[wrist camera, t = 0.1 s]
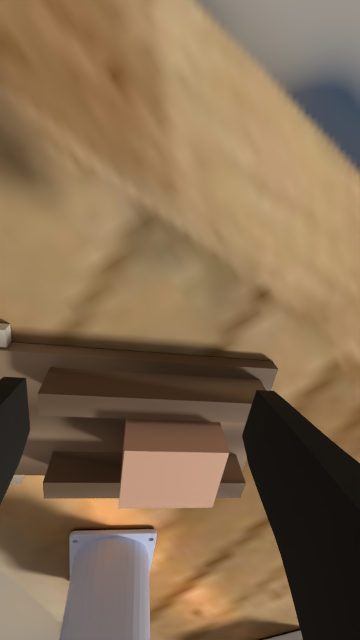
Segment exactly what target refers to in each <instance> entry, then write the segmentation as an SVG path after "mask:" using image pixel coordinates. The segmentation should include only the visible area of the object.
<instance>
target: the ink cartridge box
mask: <svg viewBox="0 0 360 640" xmlns="http://www.w3.org/2000/svg"><path fill="white" fill-rule="evenodd" d="M264 640H303V638H302V634H301V630H299V631H295V632H291V633H288V634H284V635H280V636H276V637H272V638H268V639H264Z"/></svg>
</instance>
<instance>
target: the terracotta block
mask: <svg viewBox="0 0 360 640" xmlns="http://www.w3.org/2000/svg"><path fill="white" fill-rule="evenodd" d="M228 455H229V451H228V447H227V444H226V441H225V437H224V434H223V431H222V427H221V424H220V422H201V421H173V420H146V419H126V424H125V434H124V444H123V456H122V469H121V482H120V496H119V508H211V507H213V504H214V501H215V497H216V494H217V491H218V488H219V484H220V481H221V478H222V475H223V472H224V468H225V465H226V462H227V459H228Z"/></svg>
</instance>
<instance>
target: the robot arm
mask: <svg viewBox="0 0 360 640" xmlns="http://www.w3.org/2000/svg"><path fill="white" fill-rule="evenodd" d="M29 432H30V419H29V407H28V395H27V383H26V378H19V377H3V378H1V379H0V504H1V502H2V500H3V498H4V495H5V493H6V491H7V489H8V487H9V485H10V482H11V480H12V478H13V476H14V474H15V472H16V469H17V467H18V465H19V463H20V460H21V457H22V454H23V451H24V448H25V445H26V442H27V439H28V435H29ZM242 438H243V442H244V447H245V452H246V456H247V460H248V464H249V467H250V470H251V473H252V476H253V479H254V481H255V484H256V487H257V490H258V492H259V495H260V498H261V501H262V503H263V506H264V509H265V511H266V514H267V517H268V520H269V522H270V525H271V528H272V530H273V533H274V536H275V539H276V542H277V545H278V548H279V551H280V554H281V557H282V561H283V564H284V568H285V572H286V576H287V579H288V583H289V587H290V590H291V594H292V598H293V602H294V606H295V610H296V614H297V618H298V622H299V626H300V630H301V634H302V638H303V640H360V463H359V462H357V461H356V460H355V459H354V458H352V457H351V456H350V455H349V454H347V453H346V452H345V451H343V450H342V449H341V448H340V447H339V446H337V445H336V444H335V443H334V442H333V441H331V440H330V439H329V438H328V437H327V436H325V435H324V434H323V433H322V432H321V431H320V430H318V429H317V428H316V427H315V426H314V425H313V424H312V423H310V422H309V421H308V420H307V419H306V418H305V417H304V416H302V415H301V414H300V413H299V412H298V411H297V410H296V409H295V408H293V407H292V406H291V405H290V404H289V403H288V402H287V401H285V400H284V399H283V398H282V397H281V396H279V395H278V394H277V393H276V392H274V391H266V390H256V393H255V396H254V399H253V402H252V406H251V409H250V412H249V415H248V418H247V421H246V424H245V427H244V431H243V434H242ZM156 538H157V531H156V530H154V529H134V530H86V531H73V532H71V533H70V537H69V550H70V583H69V589H68V594H67V600H66V606H65V611H64V617H63V622H62V628H61V633H60V639H59V640H150V600H149V573H150V568H151V563H152V558H153V553H154V548H155V543H156Z"/></svg>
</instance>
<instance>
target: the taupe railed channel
mask: <svg viewBox="0 0 360 640" xmlns="http://www.w3.org/2000/svg"><path fill="white" fill-rule="evenodd" d="M11 341H12V338H11V328H10V324H5V323H0V379H1V378H3V377H19V378H26V383H27V395H28V407H29V419H30V432H29V435H28V439H27V442H26V445H25V448H24V451H23V454H22V457H21V460H20V463H19V465H18V467H17V469H16V472H15V474H14V476H13V478H12V480H11V482H10V484H22V481H23V479H24V476H25V475H45V478H44V481H43V491H44V498H119V496H120V482H121V469H122V456H123V444H124V434H125V424H126V419H146V420H173V421H201V422H220V424H221V427H222V431H223V434H224V437H225V441H226V444H227V447H228V451H229V455H228V459H227V462H226V465H225V468H224V472H223V475H222V478H221V481H220V484H219V488H218V491H217V494H216V497H215V498H240V497H241V495H242V492H243V489H244V486H245V484H246V483H245V480H244V477H243V474H242V471H243V468H244V465H245V462H246V460H247V456H246V452H245V447H244V442H243V438H242V434H243V431H244V427H245V424H246V421H247V418H248V415H249V412H250V409H251V406H252V402H253V399H254V396H255V393H256V390H266V391H271V388H272V385H273V382H274V379H275V376H276V374H277V371H278V369H277V367H276V366H275V364H274V363H273V361H264V360H250V359H236V358H222V357H209V356H195V355H181V354H167V353H153V352H139V351H126V350H112V349H98V348H84V347H70V346H56V345H42V344H29V343H15V342H11Z"/></svg>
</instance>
